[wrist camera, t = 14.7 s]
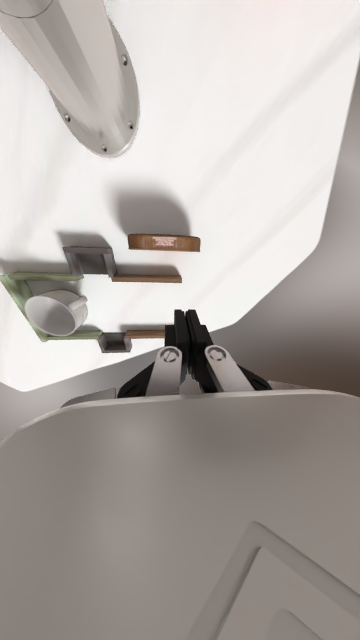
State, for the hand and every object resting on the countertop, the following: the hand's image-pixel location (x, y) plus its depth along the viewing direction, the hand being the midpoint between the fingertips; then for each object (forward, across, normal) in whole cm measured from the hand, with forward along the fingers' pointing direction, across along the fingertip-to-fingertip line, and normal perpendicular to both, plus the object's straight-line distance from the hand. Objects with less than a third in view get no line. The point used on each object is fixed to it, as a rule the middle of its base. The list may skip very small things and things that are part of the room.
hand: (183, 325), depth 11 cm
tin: (+27, +2, -5) cm, 28 cm away
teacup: (+27, +27, +10) cm, 40 cm away
